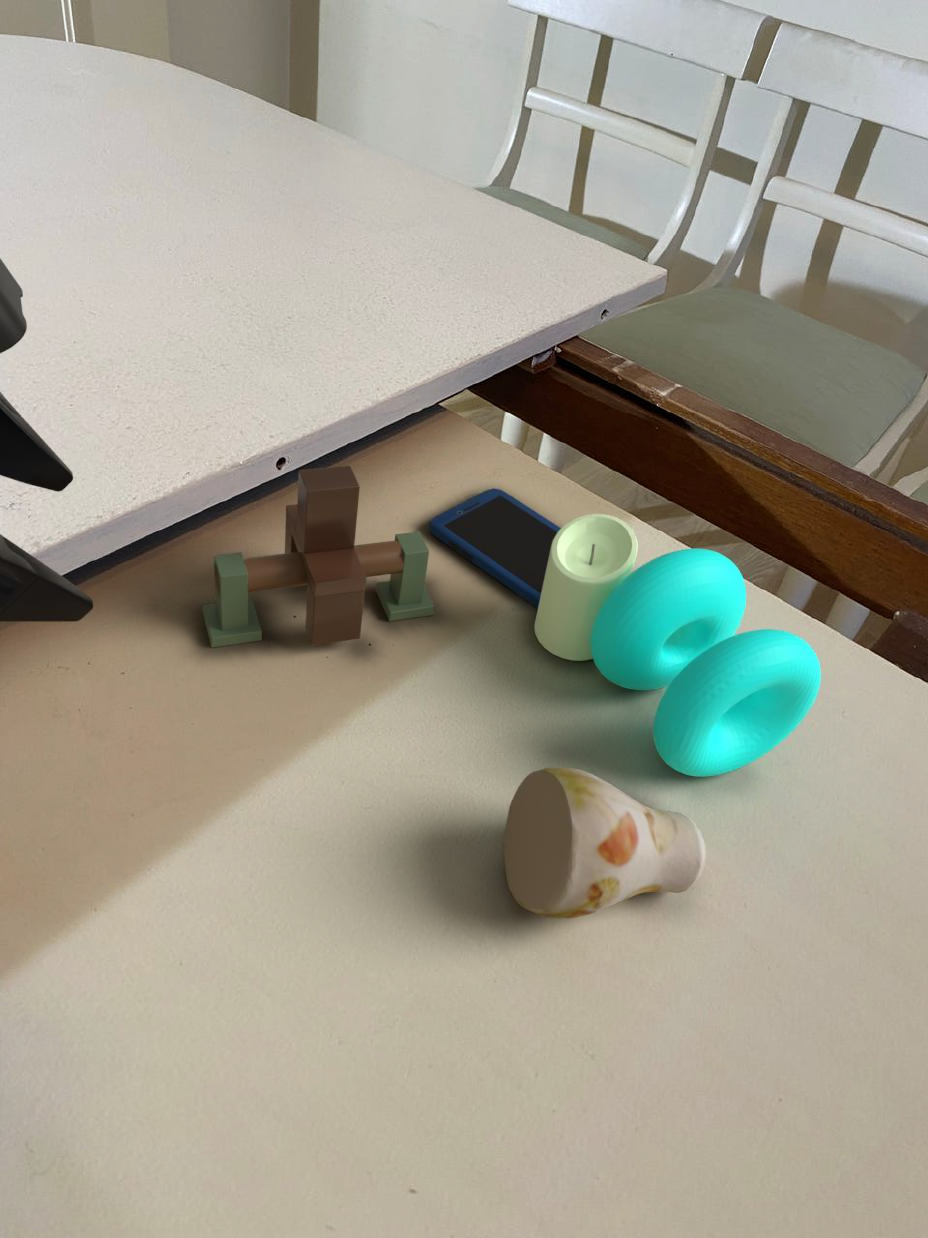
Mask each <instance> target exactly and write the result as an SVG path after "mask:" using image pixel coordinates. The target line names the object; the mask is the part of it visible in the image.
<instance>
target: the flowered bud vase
mask: <svg viewBox="0 0 928 1238" xmlns="http://www.w3.org/2000/svg"><path fill="white" fill-rule="evenodd" d="M503 835H504V837H503V853H504V868H505V869H504V870H505V877H506V882H507V885H508V889H509V890H510V893H511V895H512V896H513V898H514V900H516V904H518V905H519V906H520V907H522V908H524V909H525V910H528V911H530V912H533V913H534V914H537V915H540V916H543V917H548V918H553V919H574V918H579V917H584V916H588V915H592V914H595V913H597V912H599V911H602V910H604V909H607V908H609V907H612V906H613V905H615V904H618V903H620V902H623V901H624V900H627V899H630V898H633V897H634V896H637V895H640V894H644V893H655V892H656V893H675V894H678V893H679V894H680V893H683V892H686V891H688V890H689V889H690V888H691V887H693V885H694V884H695V882H696V881H698V879H699V878H700V877H701V875H702V873H703V871H704V868H705V865H706V860H707V851H706V843H705V839H704V837H703V835H702V832H701V830H700V829H699V828H698V827H697V825H696V823H695V821H693V820H692V819H691V818H690V817H689V816H688V815H686V814H684V813H682V812H677V811H670V810H669V811H668V810H661V809H656V808H652V807H649V806H648V805H647V806H646V805H644V804H643V803H641V802H638V800H635V798H633V797H631V796H630V795H628V794H626V793H625V792H623V791H622V790H620V789H618V788H617V787H615V786H614V785H613V784H610V783H609V782H607V781H606V780H604V779H602V778H600V777H599V776H596V775H595V774H593V773H589V772H588V771H585V770H581V769H578V768H573V767H563V766H562V767H545V768H540V769H538V770H534V771H532V772H530V773H529V774H528V775H526V776H525V777H524V778H523V780H522V781H521V782H520V784H519V785H518V787H517V788H516V791H515V793H514V795H513V797H512V800H511V802H510V805H509V807H508V812H507V817H506V823H505V828H504V834H503Z"/></svg>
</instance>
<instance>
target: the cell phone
mask: <svg viewBox="0 0 928 1238" xmlns="http://www.w3.org/2000/svg"><path fill="white" fill-rule="evenodd" d="M428 528H429V531H430V533H431V534H432V535H433V536H434V537H435V538H437V539H438V540H440V541H442V542H443V543H444V544H445V545H447V546H448V547H450V548H451V549H453V550H454V551H455V552H457V553H458V554H459V555H461V556H463V557H464V558H465V559H466V560H468V561H470V562H471V563H472V564H474V565H476V566H477V567H478V568H480V569H481V570H483V571H484V572H485V573H487V574H488V575H490V576H491V577H492V578H494V579H495V580H497V581H498V582H500V583H501V584H502V585H504V586H505V587H507V588H508V589H510V590H511V591H512V592H514V593H515V594H517V595H518V596H519V597H521V598H523V599H524V600H525V601H527V602H528V603H530V604H531V605H533V606H534V607H536V608H537V609H538V606H539V602H540V597H541V592H542V587H543V583H544V578H545V573H546V568H547V564H548V559H549V554H550V550H551V545H552V541H553V539H554V537H555V536H556V534H557V532H558V531H559V530H560V529H561V528H562V527H560V526H558V525H557V524H556V523H554V522H552V521H551V520H549V519H548V518H546V517H544V516H543V515H541V514H540V513H538V512H537V511H535V510H534V509H532V508H531V507H529V506H528V505H526V504H524V503H523V502H521V501H520V500H518V499H517V498H516V497H514V496H512V495H511V494H509V493H508V492H506V491H504V490H503V489H499V488H493V487H492V488H489V489H486V490H484V491H482V492H480V493H478V494H476V495H474V496H472V497H470V498H469V499H467V500H464V501H463V502H461V503H459V504H457V505H455V506H453V507H451V508H449V509H447V510H445V511H444V512H441V513H440V514H438V515H436V516H434V517H433V518H431V520H430V522H429V526H428Z"/></svg>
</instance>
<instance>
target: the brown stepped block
mask: <svg viewBox="0 0 928 1238" xmlns="http://www.w3.org/2000/svg"><path fill="white" fill-rule="evenodd" d="M360 489H361V488H360V484H359V481H358V479H357V478H356V474H355V473H354V471H353V469H352V466H351V465H342V466H332V467H331V466H330V467H320V468H310V469H300V470H299V471H298V484H297V503H296V504H286V506H285V527H284V529H285V530H284V531H285V532H284V533H285V534H284V554H286V553H294V552H298V553H299V556H300V558H301V561H302V564H303V567H304V569H305V572H306V575H307V577H308V585H307V590H306V591H307V593H306V610H305V611H306V612H305V627H304V628H305V631H306V634H307V637H308V639H309V642H310V645H311V646H318V645H327V644H333V643H340V642H345V641H346V642H347V641H353V640H359V639H360V638H361V632H362V621H363V614H364V613H363V612H364V604H365V595H366V594H365V593H366V585H367V578H368V577H366V575H365V573H364V570H363V568H362V565H361V563H360V561H359V558H358V556H357V554H356V551H355V549H354V545H356V543H355V542H356V531H357V523H358V522H357V521H358V510H359V500H360V499H359V498H360Z"/></svg>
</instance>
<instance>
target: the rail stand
mask: <svg viewBox="0 0 928 1238" xmlns="http://www.w3.org/2000/svg"><path fill="white" fill-rule="evenodd" d="M354 549H355V551H356V554H357V556H358V558H359V561H360V563H361V565H362V568H363V570H364V573H365V575H366V577H367V578H369V577H377V576H386V575H387V576H388V575H390V578H389V580H385V581H378V582H376V586H375V593H376V595H377V597H378V600H379V602H380V604H381V606H382V609H383V610H384V613H385V615H386V617H387V621H389V622H395V621H402V620H403V621H404V620H408V619H415V618H416V619H417V618H423V617H429V616H430V617H431V616H433V615H434V614H435V608H436V607H435V603H434V602H433V599H431V596H430V594H429V592H428V590H427V588H426V586H425V585H426V576H427V569H428V563H429V556H430V550H429V548H428V546H427V544H426V541H425V540H424V539H423V536H422V534H421V532H420V531H411V532H403V533H396V534H395V535H394V540H389V541H387V540H386V541H380V542H372V543H364V544H354ZM213 571H214V572H213V573H214V601H215V603H209V604H203V605H202V617H203V620H204V625H205V628H206V631H207V635H208V640H209V643H210V646H211V648H218V647H219V648H220V647H227V646H234V645H240V644H246V643H252V642H261V641H262V640H263V630H262V627H261V623H260V621H259V617H258V614H257V611H256V608H255V604H254V601H253V599H252V598H249V593H255V592H256V593H257V592H262V591H271V590H278V589H279V590H280V589H285V588H286V589H287V588H294V587H302V586H308V577H307V575H306V572H305V569H304V567H303V564H302V561H301V558H300V556H299V553H298V552H294V553H286V554H285V553H279V554H269V555H261V556H253V557H243V554H242V552H241V551H239V552H232V553H223V554H214V555H213Z"/></svg>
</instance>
